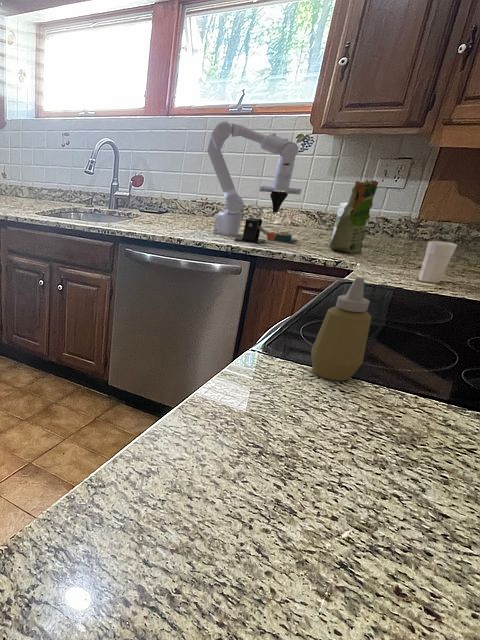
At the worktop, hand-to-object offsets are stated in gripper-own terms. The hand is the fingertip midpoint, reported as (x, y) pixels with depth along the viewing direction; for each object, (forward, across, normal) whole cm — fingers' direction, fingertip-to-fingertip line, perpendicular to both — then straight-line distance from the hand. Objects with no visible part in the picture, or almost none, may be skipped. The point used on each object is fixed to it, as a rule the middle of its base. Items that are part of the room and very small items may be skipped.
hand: (275, 212), depth 206 cm
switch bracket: (+10, +3, +14) cm, 18 cm away
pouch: (+11, -28, +4) cm, 30 cm away
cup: (+11, -56, +31) cm, 65 cm away
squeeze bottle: (+11, -53, +125) cm, 136 cm away
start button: (+8, -6, +4) cm, 11 cm away
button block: (+10, -6, +4) cm, 13 cm away
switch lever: (+6, 0, +14) cm, 16 cm away
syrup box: (+11, -22, -16) cm, 29 cm away
